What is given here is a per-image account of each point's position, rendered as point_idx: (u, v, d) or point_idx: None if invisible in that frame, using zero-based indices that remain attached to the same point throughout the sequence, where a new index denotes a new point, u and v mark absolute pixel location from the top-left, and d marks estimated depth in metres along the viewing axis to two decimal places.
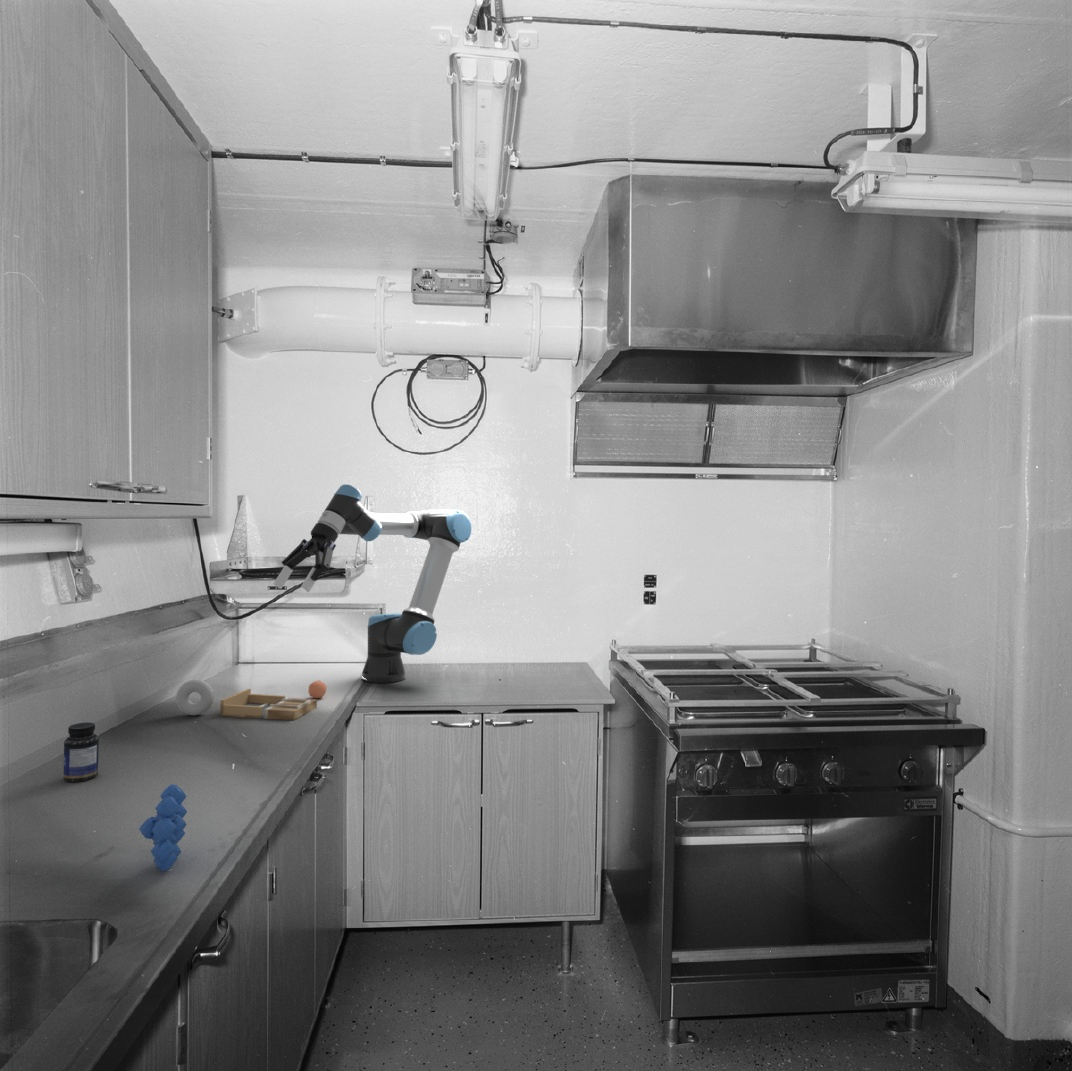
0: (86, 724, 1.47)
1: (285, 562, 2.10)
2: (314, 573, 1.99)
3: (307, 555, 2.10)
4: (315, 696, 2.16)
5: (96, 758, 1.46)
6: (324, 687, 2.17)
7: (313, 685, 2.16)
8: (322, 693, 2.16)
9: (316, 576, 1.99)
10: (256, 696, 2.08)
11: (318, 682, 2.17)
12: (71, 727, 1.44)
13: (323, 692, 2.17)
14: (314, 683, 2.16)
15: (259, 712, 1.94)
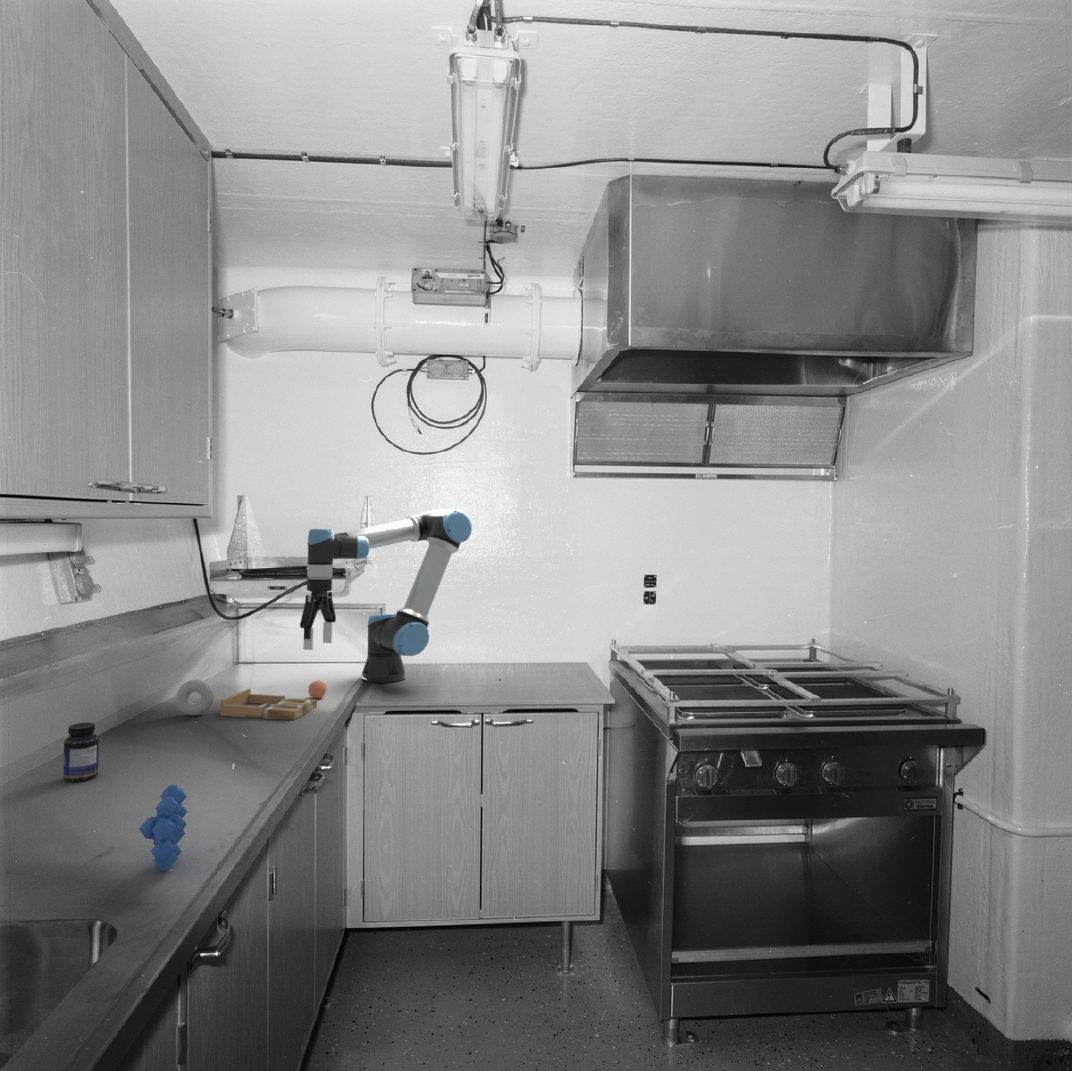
0: (86, 724, 1.47)
1: None
2: None
3: (325, 607, 2.21)
4: (315, 696, 2.16)
5: (96, 758, 1.46)
6: (324, 687, 2.17)
7: (313, 685, 2.16)
8: (322, 693, 2.16)
9: (306, 635, 2.09)
10: (256, 696, 2.08)
11: (318, 682, 2.17)
12: (71, 727, 1.44)
13: (323, 692, 2.17)
14: (314, 683, 2.16)
15: (259, 712, 1.94)
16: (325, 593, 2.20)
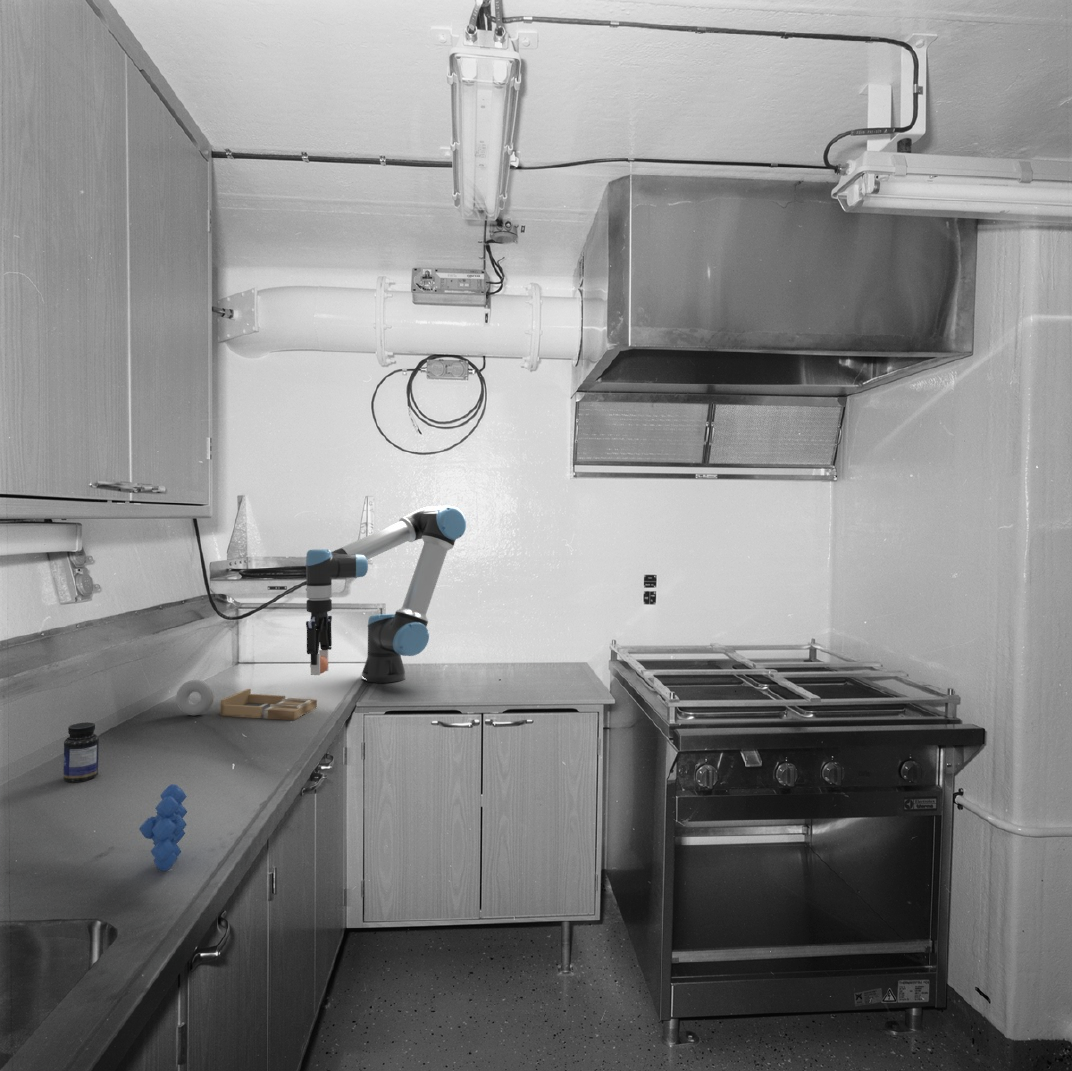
0: (86, 724, 1.47)
1: None
2: None
3: (323, 629, 2.19)
4: None
5: (96, 758, 1.46)
6: (326, 662, 2.18)
7: None
8: (324, 668, 2.17)
9: (313, 661, 2.14)
10: (256, 696, 2.08)
11: (320, 657, 2.17)
12: (71, 727, 1.44)
13: (325, 667, 2.17)
14: None
15: (259, 712, 1.94)
16: (326, 612, 2.20)
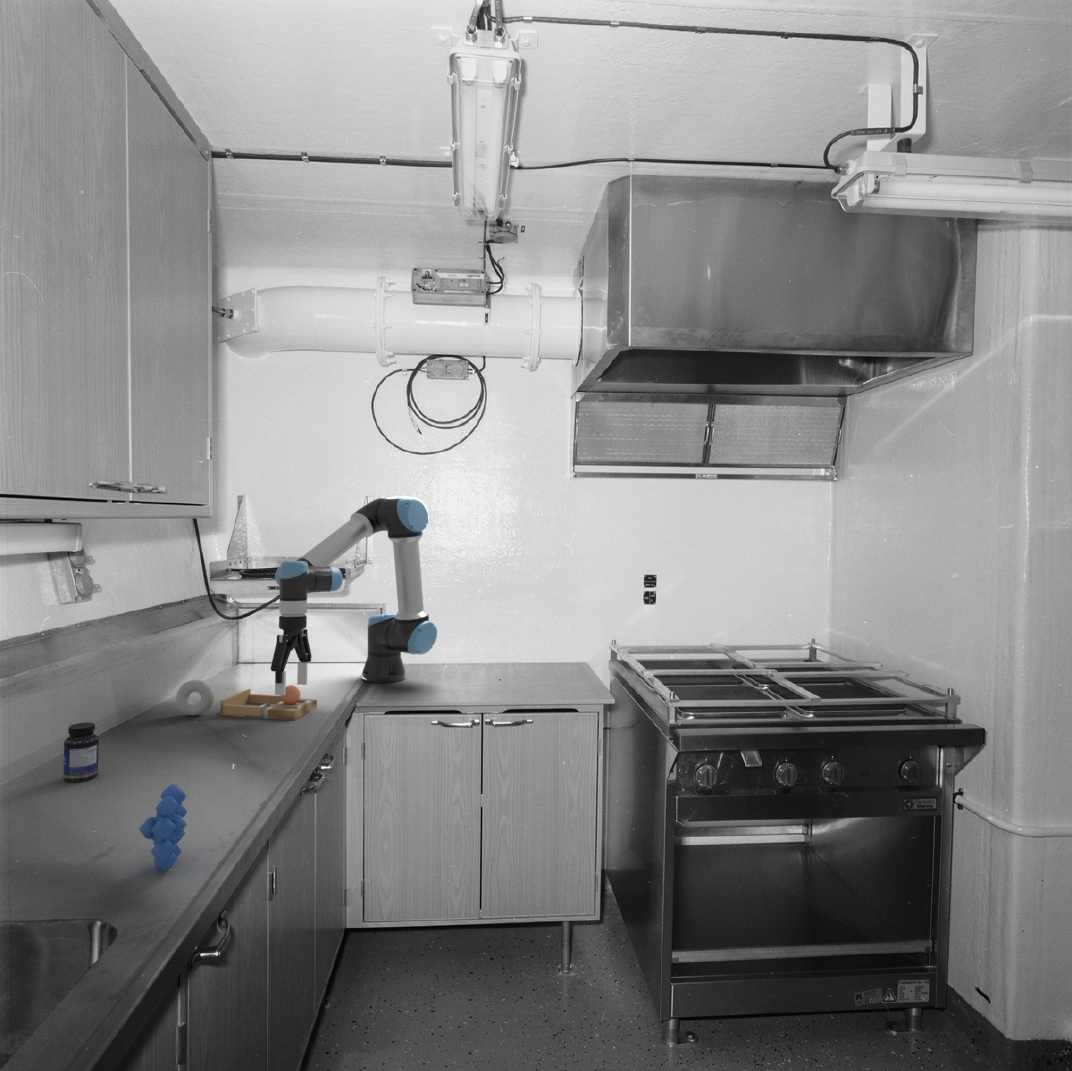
0: (86, 724, 1.47)
1: None
2: None
3: (299, 646, 2.03)
4: (288, 703, 1.98)
5: (96, 758, 1.46)
6: (298, 693, 1.99)
7: (285, 691, 1.98)
8: (295, 699, 1.98)
9: (277, 679, 1.92)
10: (256, 696, 2.08)
11: (291, 688, 1.99)
12: (71, 727, 1.44)
13: (297, 698, 1.99)
14: (286, 689, 1.98)
15: (259, 712, 1.94)
16: (299, 631, 2.02)
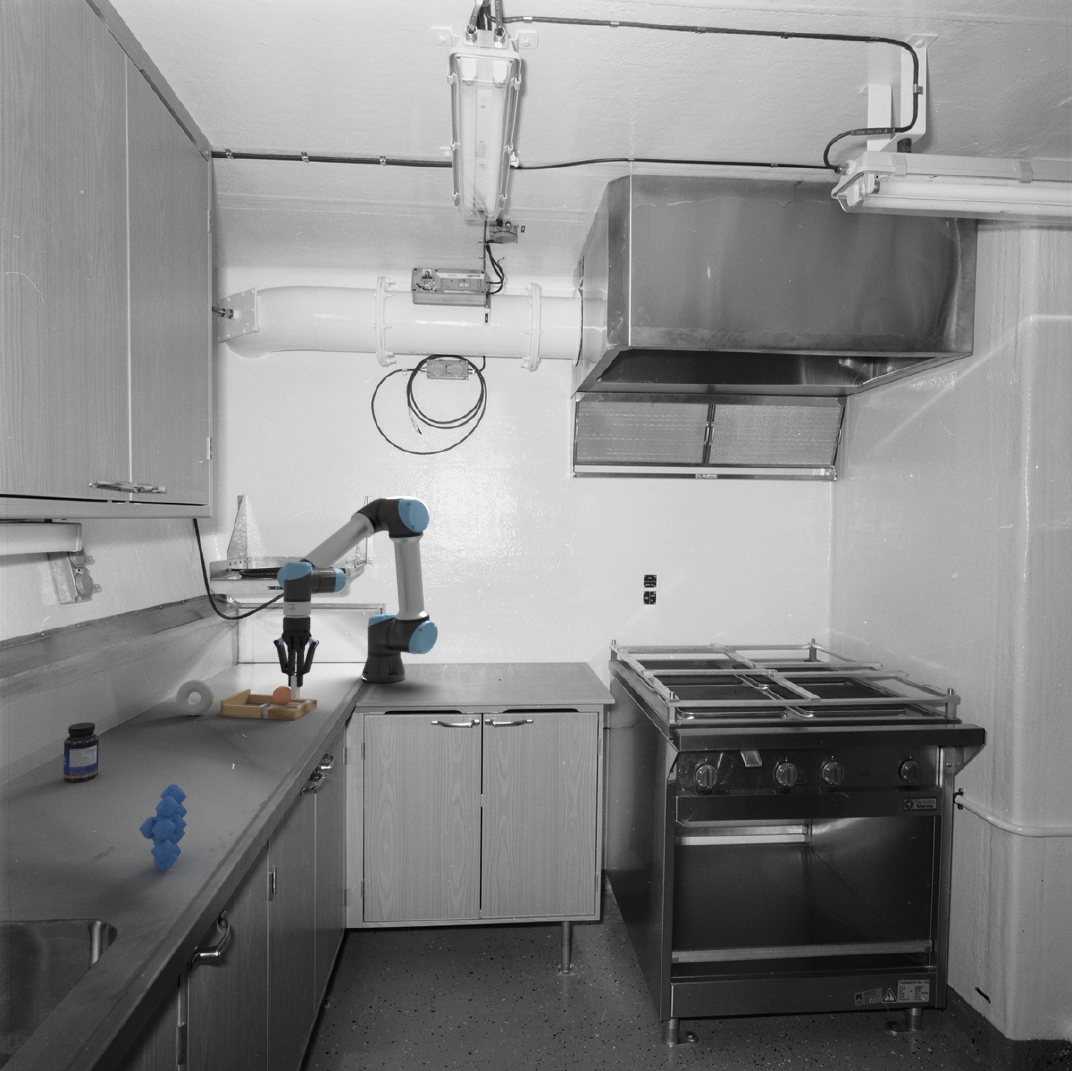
0: (86, 724, 1.47)
1: (285, 669, 1.99)
2: (299, 681, 1.99)
3: (295, 649, 2.00)
4: (285, 703, 1.98)
5: (96, 758, 1.46)
6: (287, 690, 1.98)
7: (275, 696, 1.97)
8: (289, 697, 1.98)
9: (301, 683, 1.99)
10: (256, 696, 2.08)
11: (278, 690, 1.97)
12: (71, 727, 1.44)
13: (289, 695, 1.98)
14: (275, 693, 1.97)
15: (259, 712, 1.94)
16: None
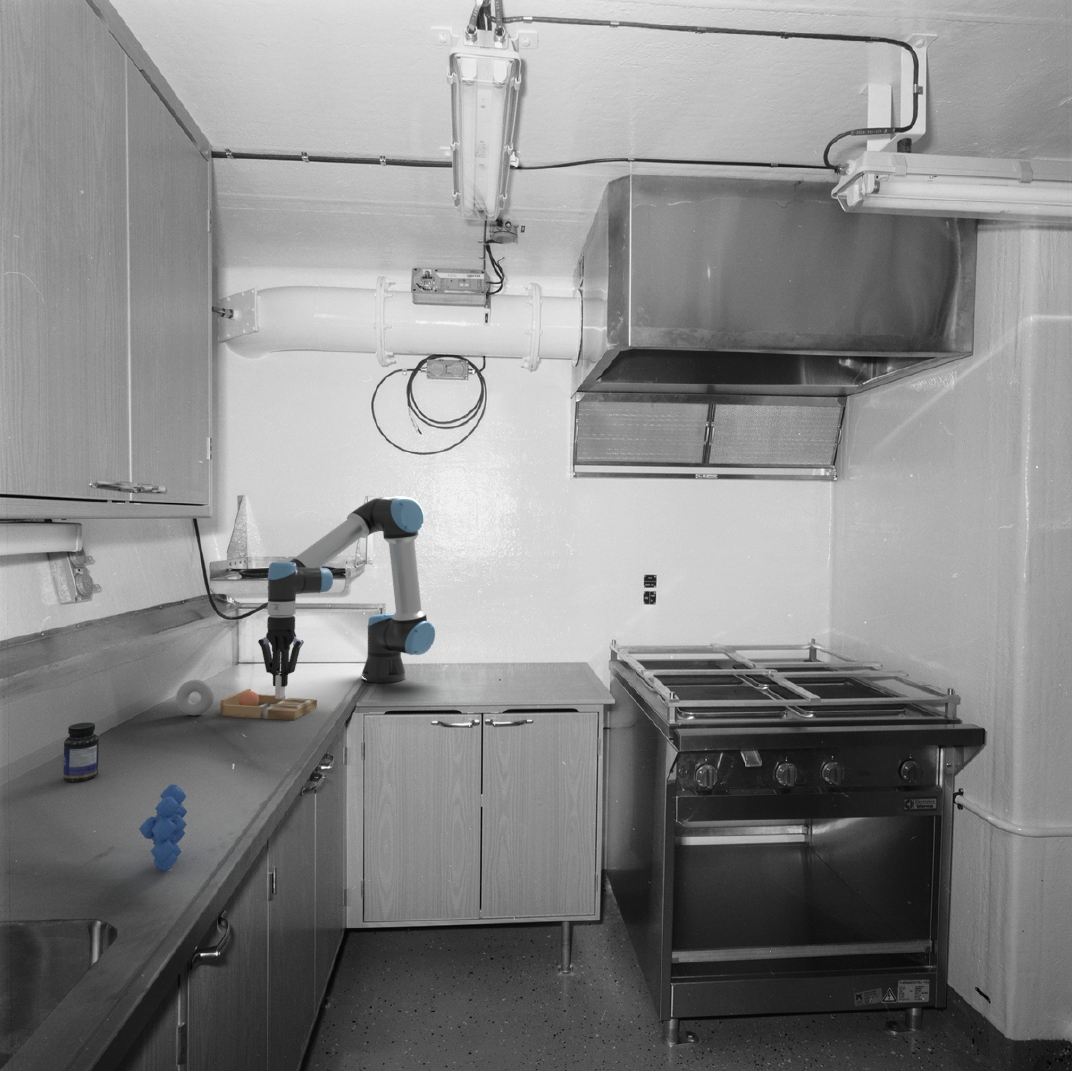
0: (86, 724, 1.47)
1: (270, 668, 2.00)
2: (283, 681, 2.00)
3: (279, 649, 2.01)
4: None
5: (96, 758, 1.46)
6: None
7: (246, 702, 1.97)
8: None
9: (286, 682, 2.00)
10: None
11: None
12: (71, 727, 1.44)
13: None
14: (249, 703, 1.98)
15: (259, 712, 1.94)
16: None
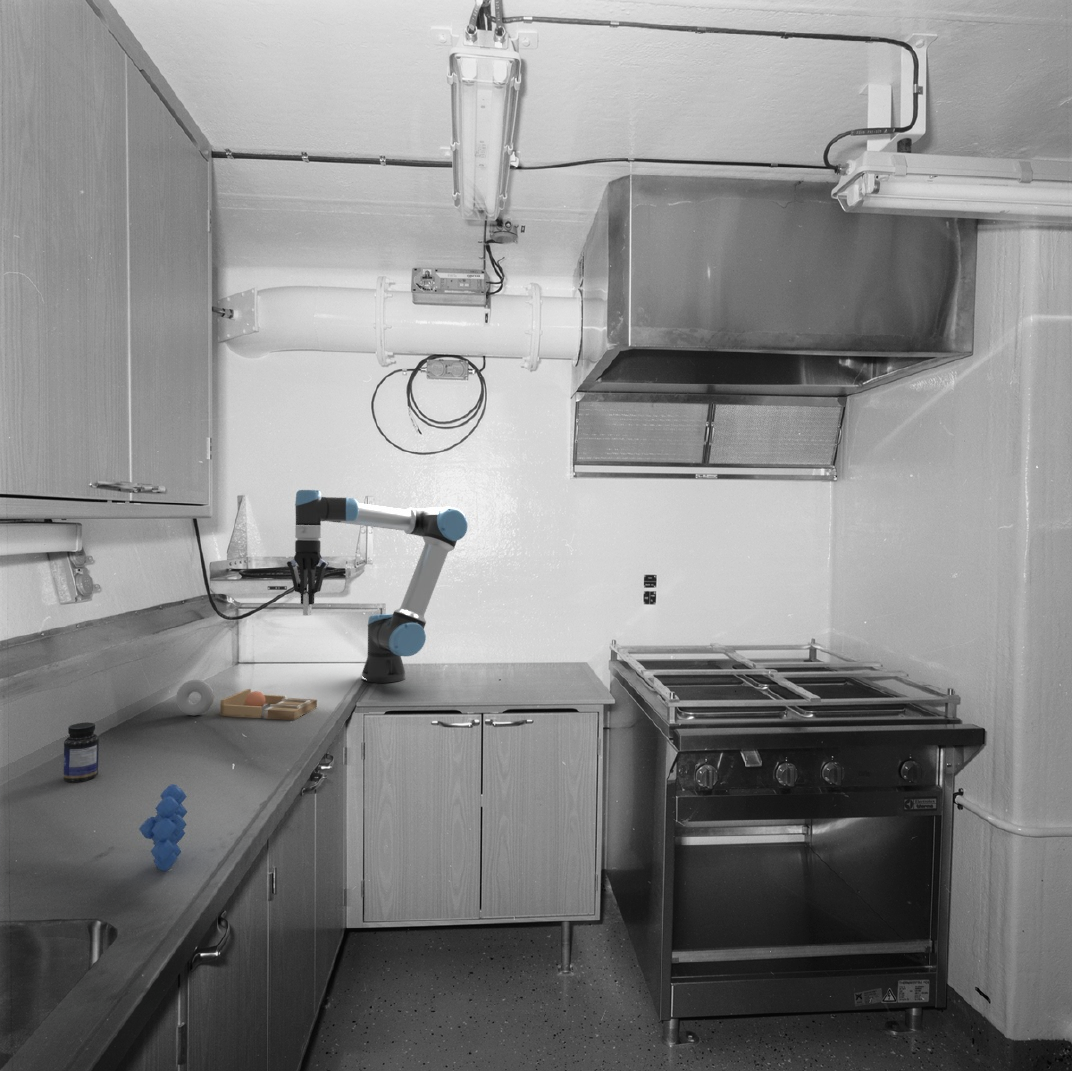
0: (86, 724, 1.47)
1: (298, 588, 2.17)
2: (310, 599, 2.17)
3: (306, 570, 2.19)
4: (248, 694, 1.99)
5: (96, 758, 1.46)
6: None
7: (252, 705, 1.97)
8: None
9: (313, 600, 2.18)
10: None
11: None
12: (71, 727, 1.44)
13: None
14: None
15: (259, 712, 1.94)
16: None
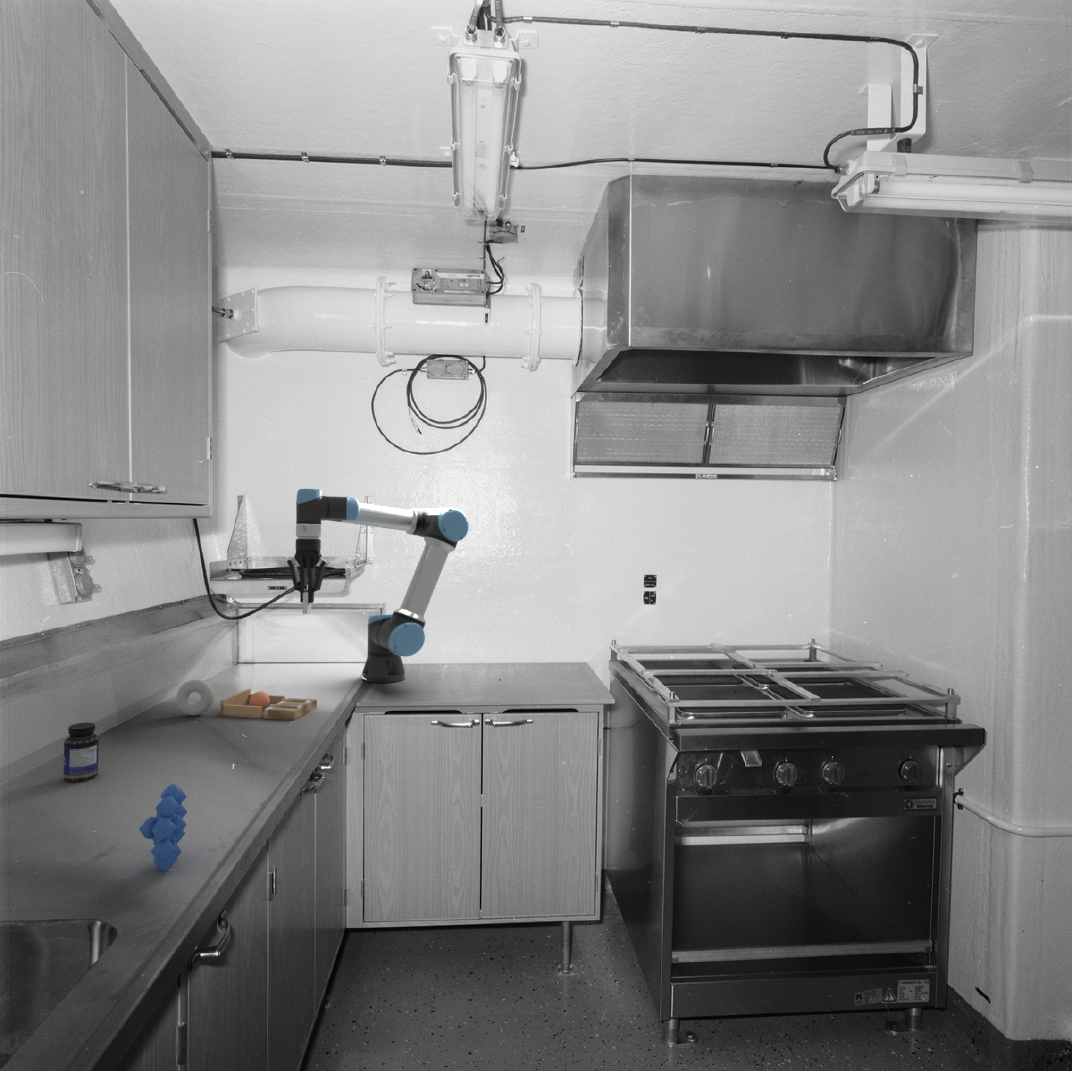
0: (86, 724, 1.47)
1: (298, 586, 2.18)
2: (310, 597, 2.17)
3: (306, 569, 2.19)
4: (256, 693, 1.98)
5: (96, 758, 1.46)
6: None
7: None
8: (251, 696, 1.99)
9: (312, 599, 2.18)
10: None
11: None
12: (71, 727, 1.44)
13: None
14: None
15: (259, 712, 1.94)
16: None
